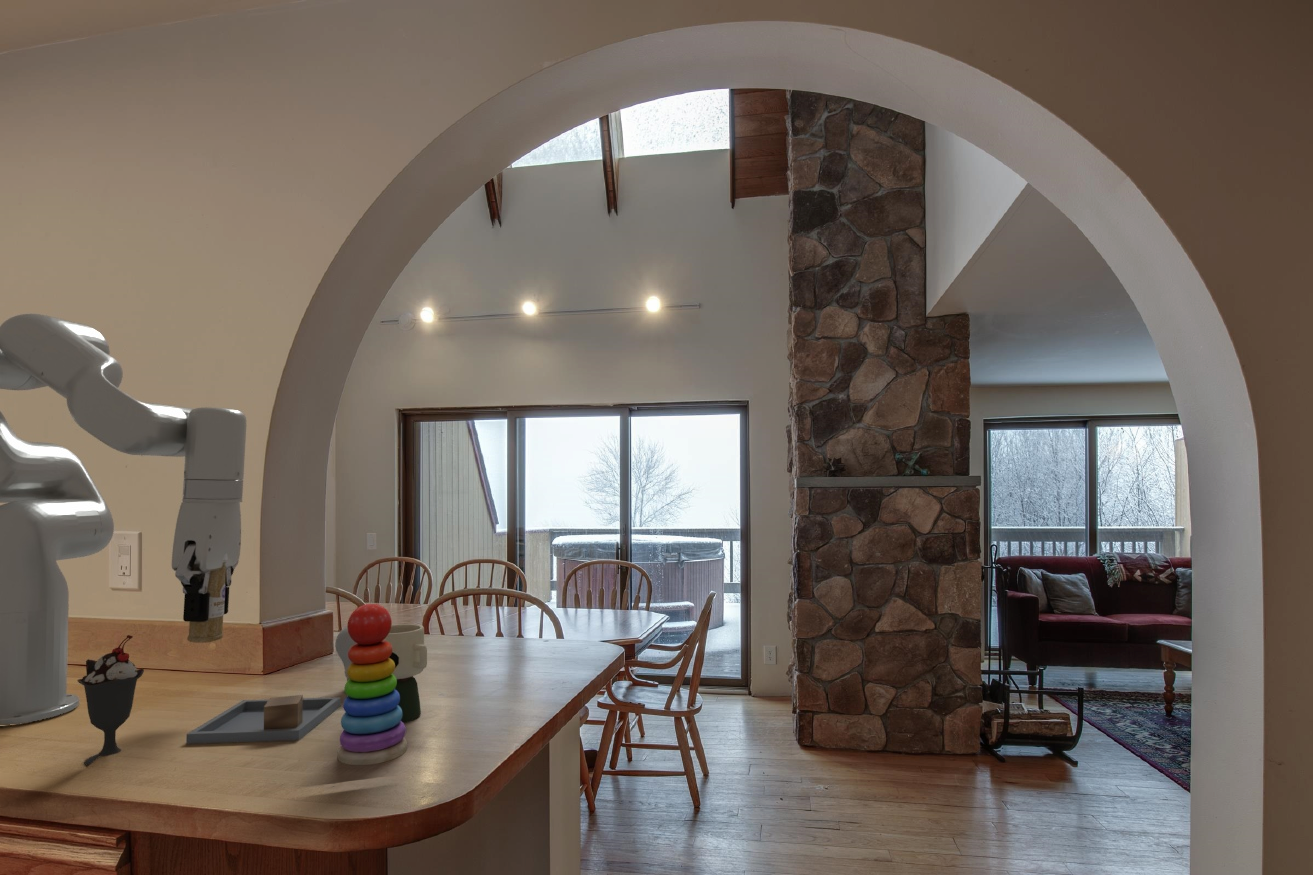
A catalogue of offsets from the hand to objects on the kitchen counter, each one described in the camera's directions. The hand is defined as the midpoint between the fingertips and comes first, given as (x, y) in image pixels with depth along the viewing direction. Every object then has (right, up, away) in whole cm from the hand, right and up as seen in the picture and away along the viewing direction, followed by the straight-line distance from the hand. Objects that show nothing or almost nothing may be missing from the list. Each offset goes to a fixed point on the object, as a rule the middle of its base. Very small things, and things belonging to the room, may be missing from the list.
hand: (206, 616), depth 106 cm
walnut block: (+16, -13, -9) cm, 23 cm away
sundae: (-2, -14, -16) cm, 21 cm away
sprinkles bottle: (0, -4, 0) cm, 4 cm away
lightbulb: (+18, -15, +10) cm, 25 cm away
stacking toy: (+31, -13, -17) cm, 38 cm away
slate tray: (+12, -14, -6) cm, 20 cm away
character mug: (+29, -14, -4) cm, 33 cm away
